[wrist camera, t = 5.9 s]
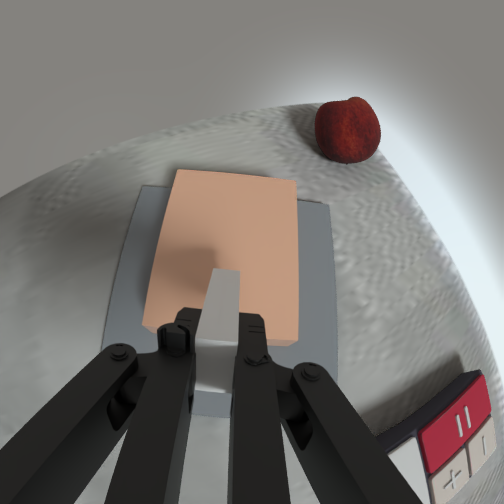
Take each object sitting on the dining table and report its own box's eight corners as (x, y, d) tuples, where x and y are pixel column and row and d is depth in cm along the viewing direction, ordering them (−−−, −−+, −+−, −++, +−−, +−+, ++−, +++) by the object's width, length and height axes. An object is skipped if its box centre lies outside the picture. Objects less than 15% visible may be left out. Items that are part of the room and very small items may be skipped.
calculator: (500, 447, 13) (398, 546, 9) (473, 448, 17) (373, 531, 13) (486, 365, 17) (375, 461, 13) (457, 373, 21) (347, 452, 17)
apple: (349, 134, 33) (370, 87, 26) (376, 178, 30) (406, 129, 23) (299, 134, 32) (315, 80, 25) (323, 181, 28) (348, 124, 21)
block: (141, 324, 16) (177, 169, 22) (152, 333, 19) (181, 191, 25) (298, 340, 17) (296, 180, 23) (287, 346, 20) (288, 202, 26)
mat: (100, 394, 17) (96, 394, 16) (144, 191, 26) (142, 186, 25) (332, 416, 18) (335, 417, 17) (326, 209, 27) (328, 204, 26)
